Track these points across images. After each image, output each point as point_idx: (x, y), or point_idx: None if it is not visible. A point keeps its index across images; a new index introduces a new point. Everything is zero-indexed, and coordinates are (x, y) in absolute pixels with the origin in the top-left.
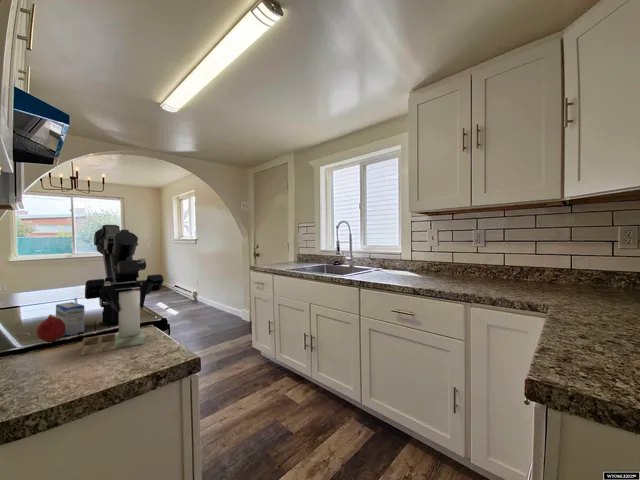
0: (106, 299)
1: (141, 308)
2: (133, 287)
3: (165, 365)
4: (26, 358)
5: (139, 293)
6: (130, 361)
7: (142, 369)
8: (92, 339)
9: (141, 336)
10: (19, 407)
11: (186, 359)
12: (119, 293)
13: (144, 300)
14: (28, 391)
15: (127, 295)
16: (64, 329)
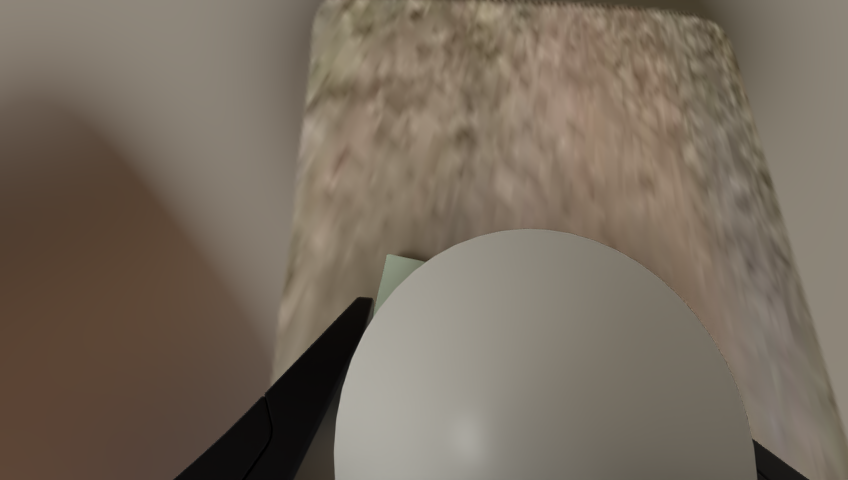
0: None
1: (372, 314)
2: None
3: (410, 13)
4: (794, 452)
5: (382, 308)
6: (482, 117)
7: (469, 37)
8: None
9: (401, 263)
10: (716, 56)
11: (345, 4)
12: (745, 455)
13: (316, 340)
14: (717, 124)
15: (596, 251)
16: None
